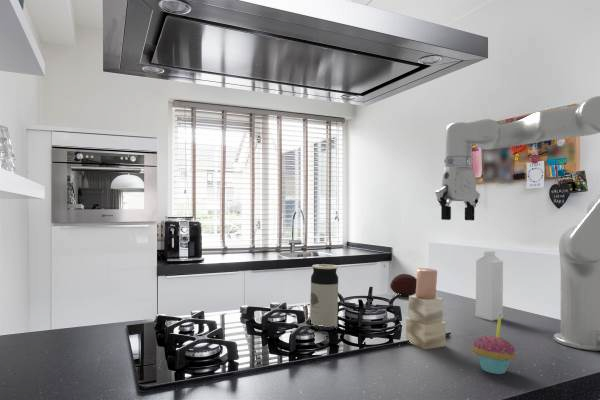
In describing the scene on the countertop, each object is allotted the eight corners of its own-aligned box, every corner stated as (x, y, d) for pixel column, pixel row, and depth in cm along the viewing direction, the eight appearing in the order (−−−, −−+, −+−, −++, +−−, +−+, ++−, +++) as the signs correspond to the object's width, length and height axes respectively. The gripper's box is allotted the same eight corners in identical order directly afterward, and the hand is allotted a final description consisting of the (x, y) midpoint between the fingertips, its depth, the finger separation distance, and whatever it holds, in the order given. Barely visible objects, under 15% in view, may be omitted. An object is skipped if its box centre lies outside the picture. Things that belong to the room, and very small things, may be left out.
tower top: (442, 322, 104) (442, 298, 104) (425, 324, 101) (425, 300, 101) (425, 316, 109) (425, 294, 110) (408, 318, 107) (408, 296, 107)
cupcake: (490, 360, 93) (490, 308, 94) (524, 374, 86) (525, 317, 86) (463, 366, 89) (464, 311, 90) (498, 380, 82) (498, 321, 82)
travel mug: (331, 323, 122) (332, 263, 123) (341, 331, 115) (342, 267, 115) (306, 324, 120) (307, 264, 121) (314, 332, 112) (316, 267, 113)
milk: (475, 316, 135) (475, 250, 136) (486, 314, 138) (486, 250, 139) (492, 321, 130) (492, 252, 131) (503, 318, 133) (503, 251, 134)
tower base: (445, 346, 103) (445, 322, 104) (424, 349, 100) (424, 325, 101) (425, 338, 110) (426, 316, 110) (405, 341, 107) (406, 318, 107)
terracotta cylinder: (439, 298, 104) (441, 271, 104) (424, 299, 102) (426, 272, 102) (426, 293, 109) (428, 267, 109) (411, 294, 107) (413, 268, 107)
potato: (422, 298, 163) (422, 275, 163) (392, 298, 163) (393, 275, 163) (415, 294, 172) (415, 272, 172) (387, 293, 171) (387, 271, 172)
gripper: (446, 160, 116) (446, 219, 115) (488, 164, 123) (488, 220, 123) (428, 163, 122) (427, 219, 122) (468, 167, 130) (468, 220, 129)
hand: (457, 220), depth 122 cm, fingers open, 9 cm apart
